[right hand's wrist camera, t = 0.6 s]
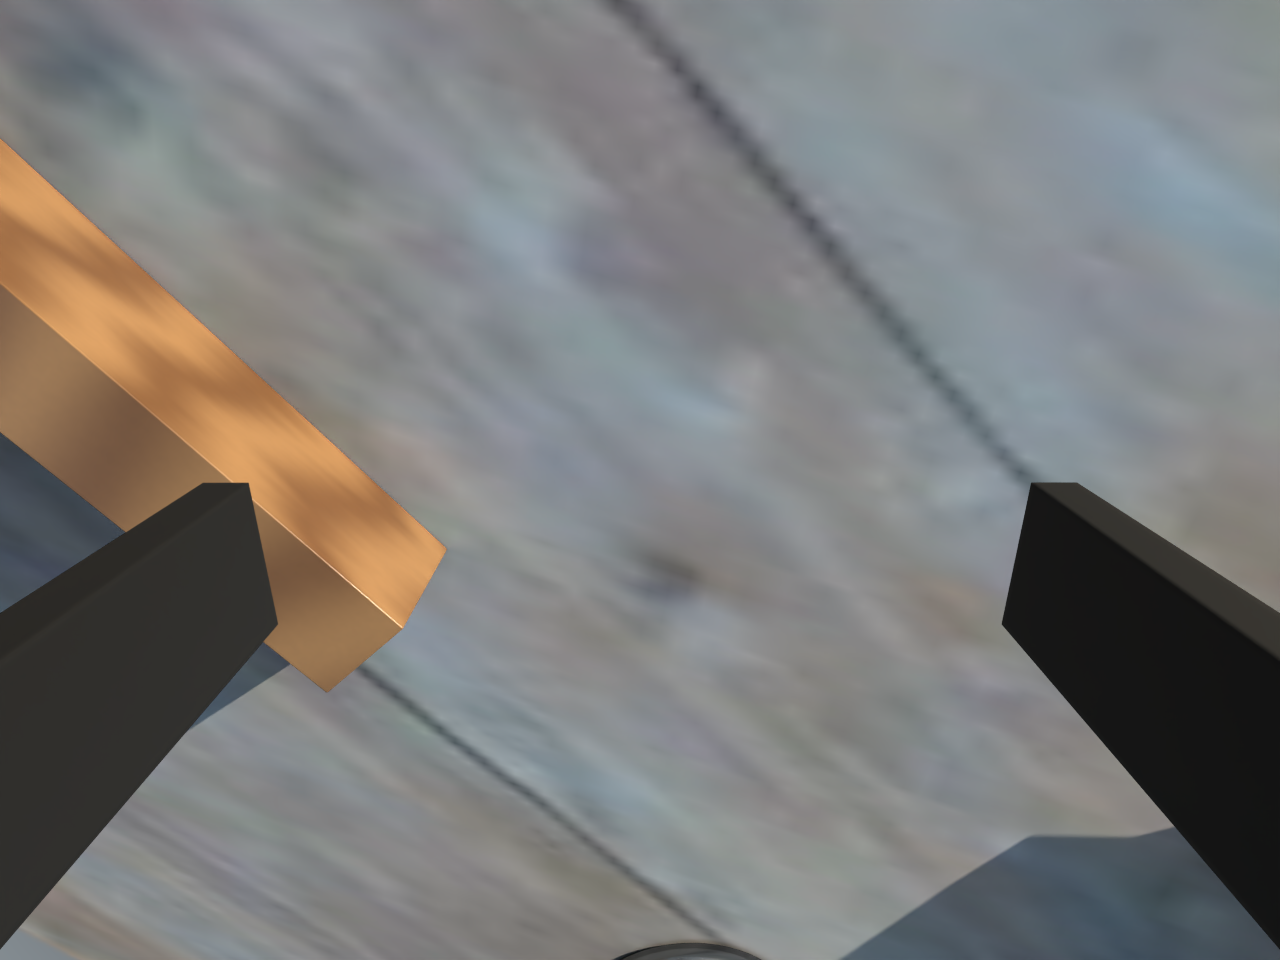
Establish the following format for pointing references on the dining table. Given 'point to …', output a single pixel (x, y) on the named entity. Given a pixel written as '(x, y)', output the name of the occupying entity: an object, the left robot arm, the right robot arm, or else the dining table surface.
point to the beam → (189, 430)
